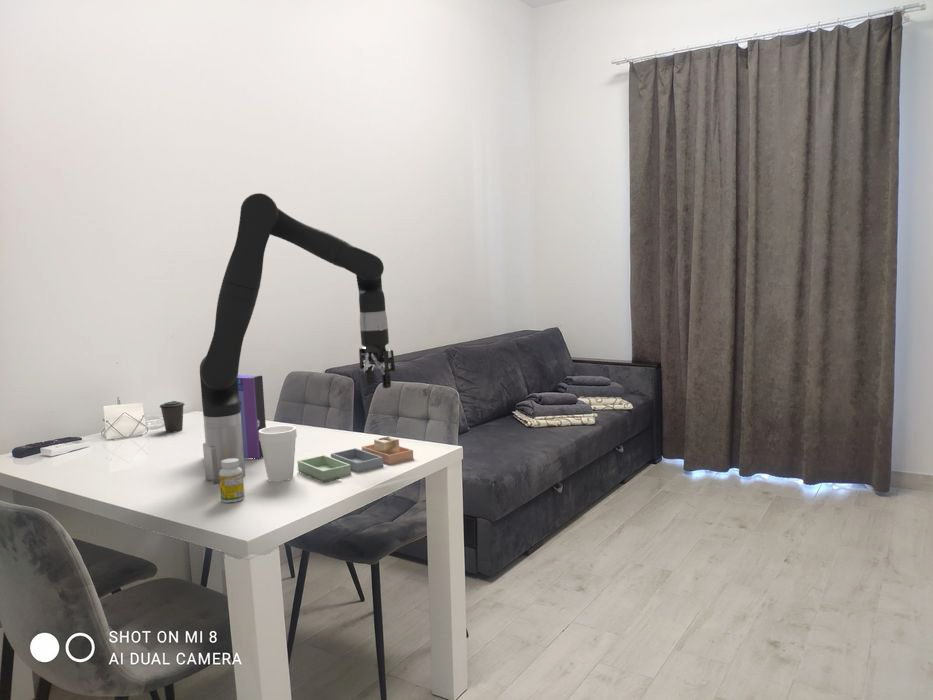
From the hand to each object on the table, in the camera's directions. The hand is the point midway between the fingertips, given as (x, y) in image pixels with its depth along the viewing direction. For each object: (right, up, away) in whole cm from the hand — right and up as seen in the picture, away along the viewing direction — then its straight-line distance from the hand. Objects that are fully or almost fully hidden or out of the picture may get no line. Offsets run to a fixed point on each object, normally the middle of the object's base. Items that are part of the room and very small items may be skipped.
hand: (378, 386), depth 194 cm
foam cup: (-24, -24, -11) cm, 36 cm away
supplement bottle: (-31, -26, -27) cm, 49 cm away
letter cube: (+2, -20, +4) cm, 21 cm away
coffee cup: (-78, -18, +51) cm, 95 cm away
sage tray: (-13, -23, -9) cm, 28 cm away
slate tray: (-6, -22, -2) cm, 23 cm away
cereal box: (-43, -22, +13) cm, 50 cm away
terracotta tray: (+2, -21, +4) cm, 21 cm away
